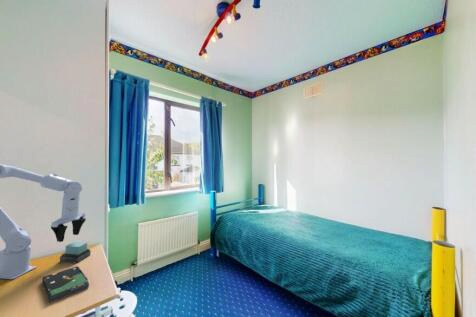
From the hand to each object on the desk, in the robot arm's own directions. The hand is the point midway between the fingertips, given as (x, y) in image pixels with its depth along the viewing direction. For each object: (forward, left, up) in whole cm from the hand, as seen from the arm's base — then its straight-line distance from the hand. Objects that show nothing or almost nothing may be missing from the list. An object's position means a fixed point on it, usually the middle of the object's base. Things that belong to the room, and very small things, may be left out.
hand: (68, 237), depth 86 cm
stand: (+3, +1, -9) cm, 10 cm away
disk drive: (+15, -16, -10) cm, 24 cm away
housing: (+3, +1, -7) cm, 7 cm away
